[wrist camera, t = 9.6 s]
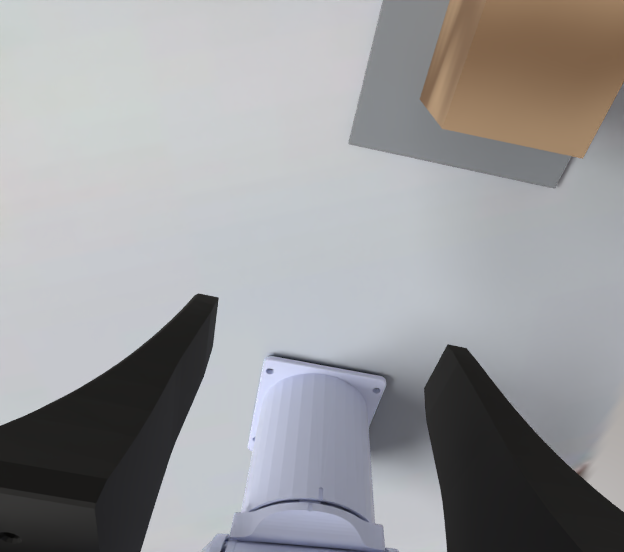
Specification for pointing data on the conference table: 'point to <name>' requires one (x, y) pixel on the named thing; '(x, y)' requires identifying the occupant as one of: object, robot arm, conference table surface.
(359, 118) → the pad
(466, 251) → the conference table surface
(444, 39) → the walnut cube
